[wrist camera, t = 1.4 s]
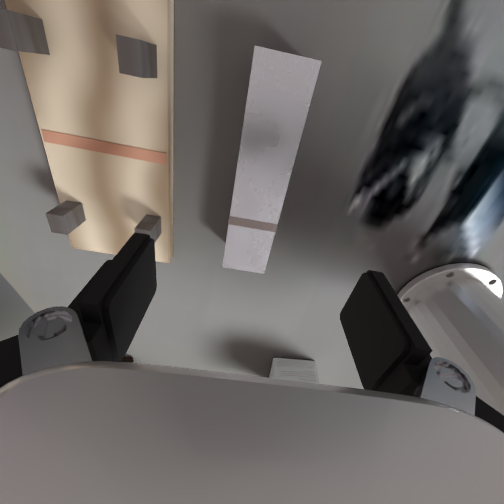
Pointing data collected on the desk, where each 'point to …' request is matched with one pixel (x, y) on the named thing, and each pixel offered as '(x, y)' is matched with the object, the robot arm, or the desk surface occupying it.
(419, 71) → the desk surface
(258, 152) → the light grey long block
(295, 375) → the supplement box
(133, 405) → the robot arm
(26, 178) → the desk surface
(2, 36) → the board
